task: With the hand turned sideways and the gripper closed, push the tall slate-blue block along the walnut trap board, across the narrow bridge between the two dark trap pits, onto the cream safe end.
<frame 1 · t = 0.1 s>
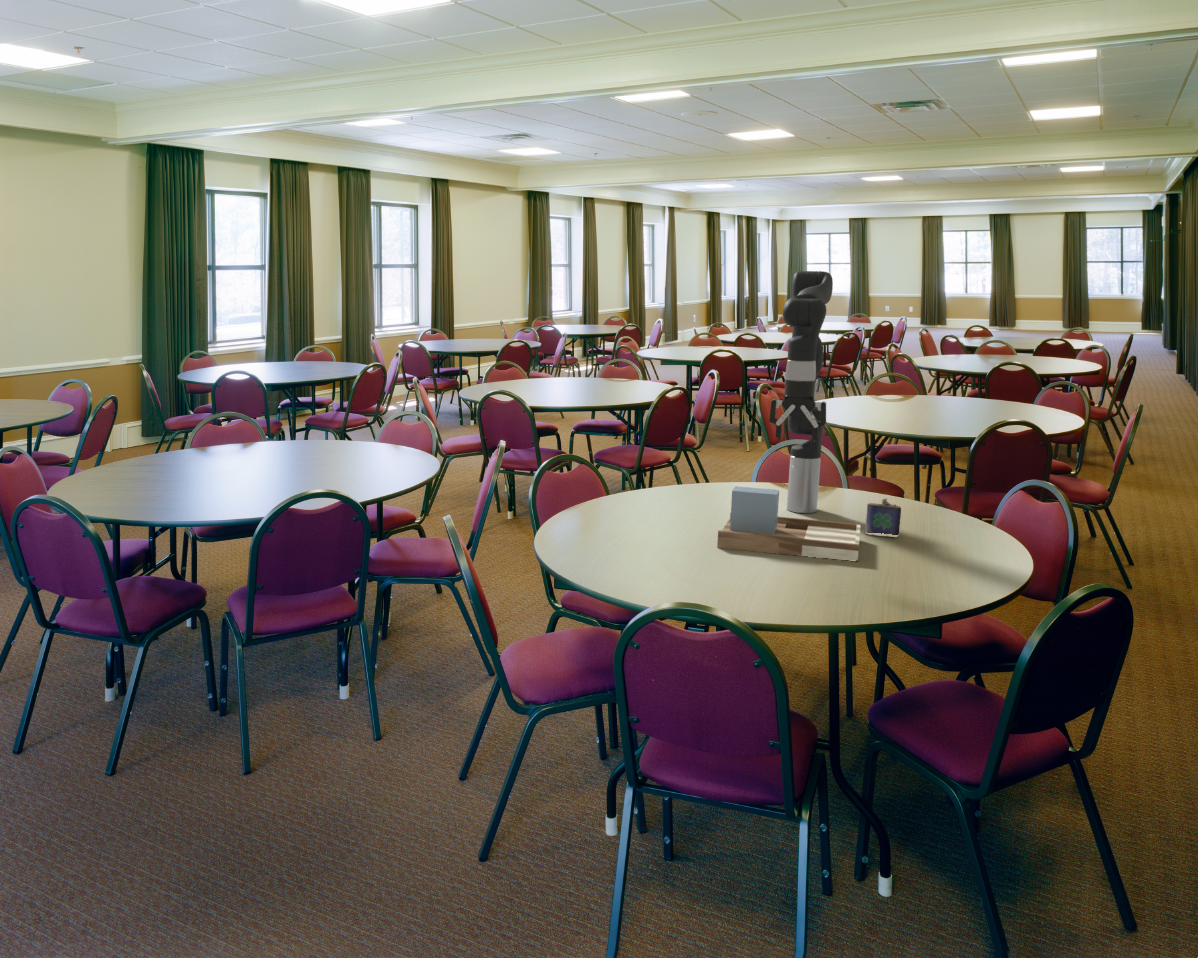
hand: (796, 440, 231), 29 cm above the table, tool pointing down, fingers open, 8 cm apart
trap board: (789, 543, 242), on the table
flask: (881, 536, 252), on the table
block: (753, 529, 244), point 3 cm above the table, touching trap board
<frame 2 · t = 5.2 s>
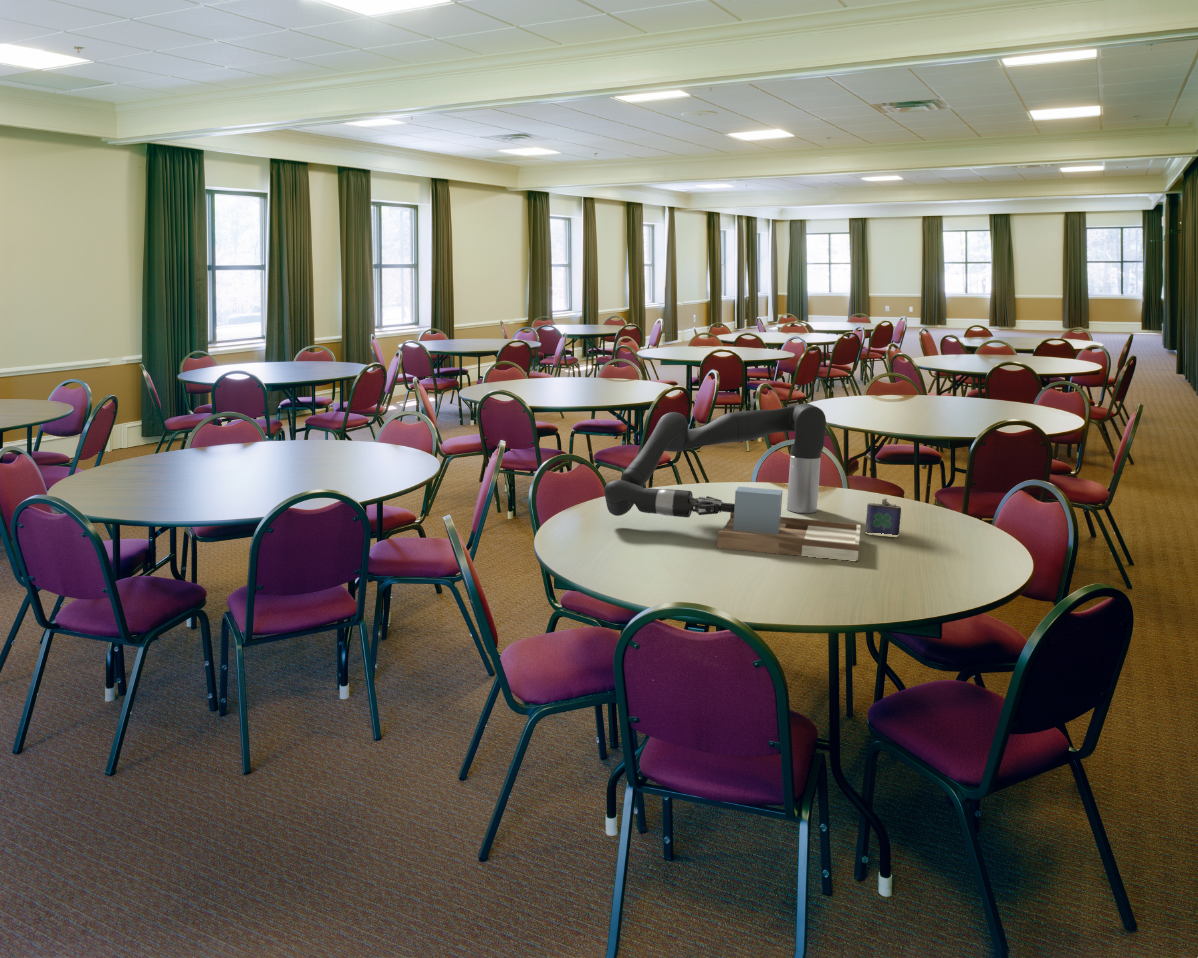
hand: (735, 508, 244), 8 cm above the table, tool horizontal, fingers closed
nothing on the table moved.
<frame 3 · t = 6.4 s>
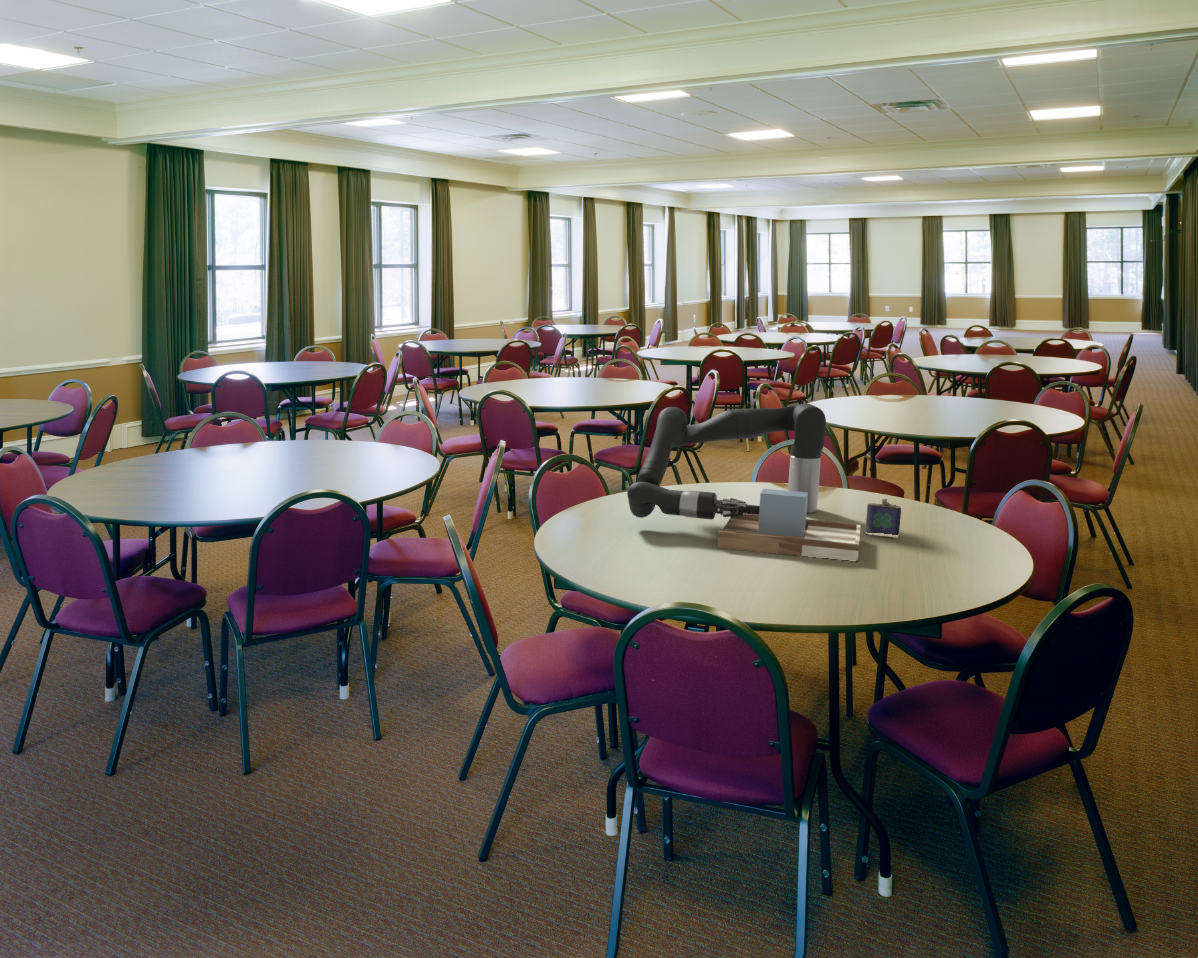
hand: (760, 510, 242), 9 cm above the table, tool horizontal, fingers closed
block: (781, 532, 242), point 3 cm above the table, touching gripper, trap board
everything else where it was.
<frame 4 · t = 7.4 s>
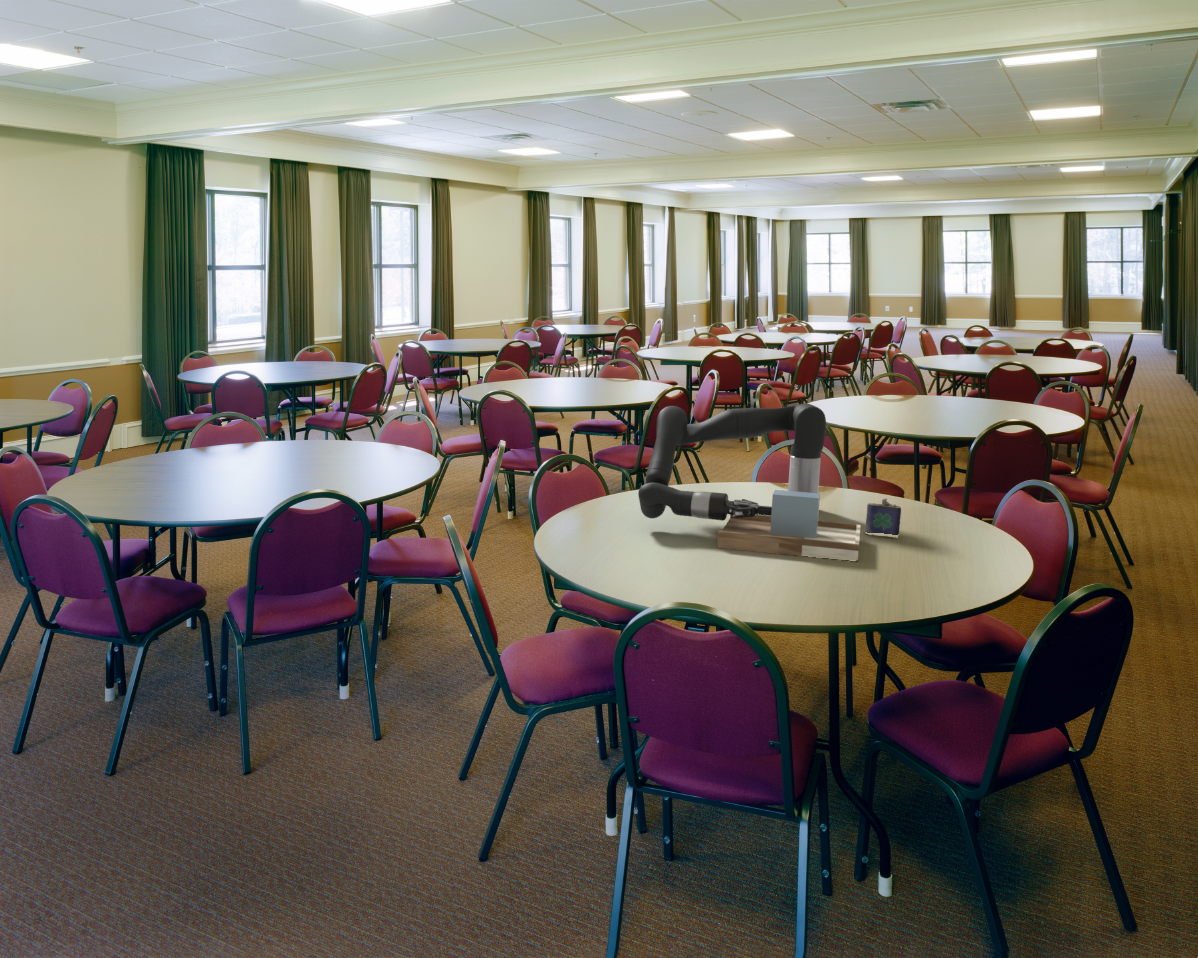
hand: (772, 511, 241), 9 cm above the table, tool horizontal, fingers closed
block: (793, 533, 241), point 3 cm above the table, touching gripper, trap board
everything else where it was.
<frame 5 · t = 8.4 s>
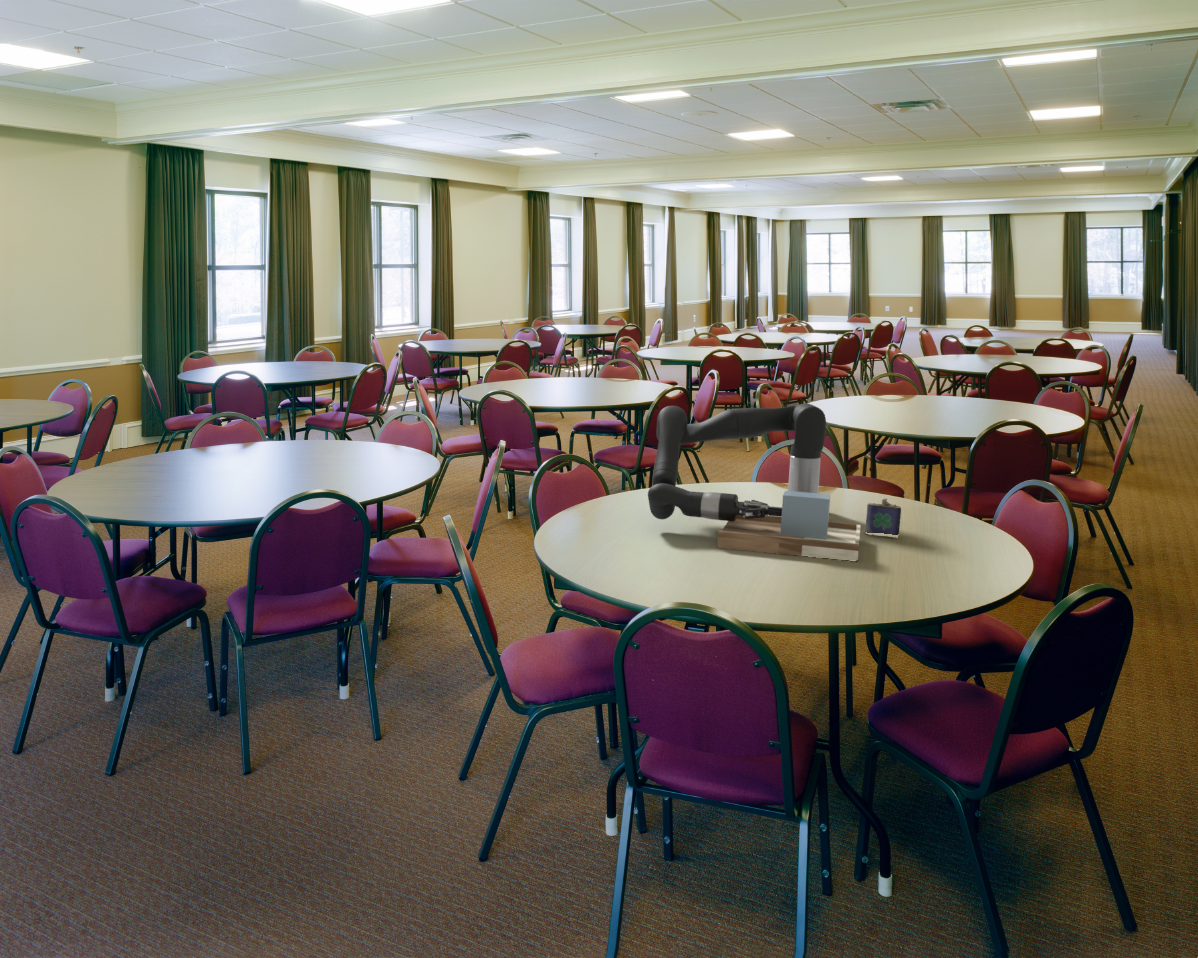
hand: (782, 512, 240), 9 cm above the table, tool horizontal, fingers closed
block: (804, 534, 240), point 3 cm above the table, touching gripper, trap board
everything else where it was.
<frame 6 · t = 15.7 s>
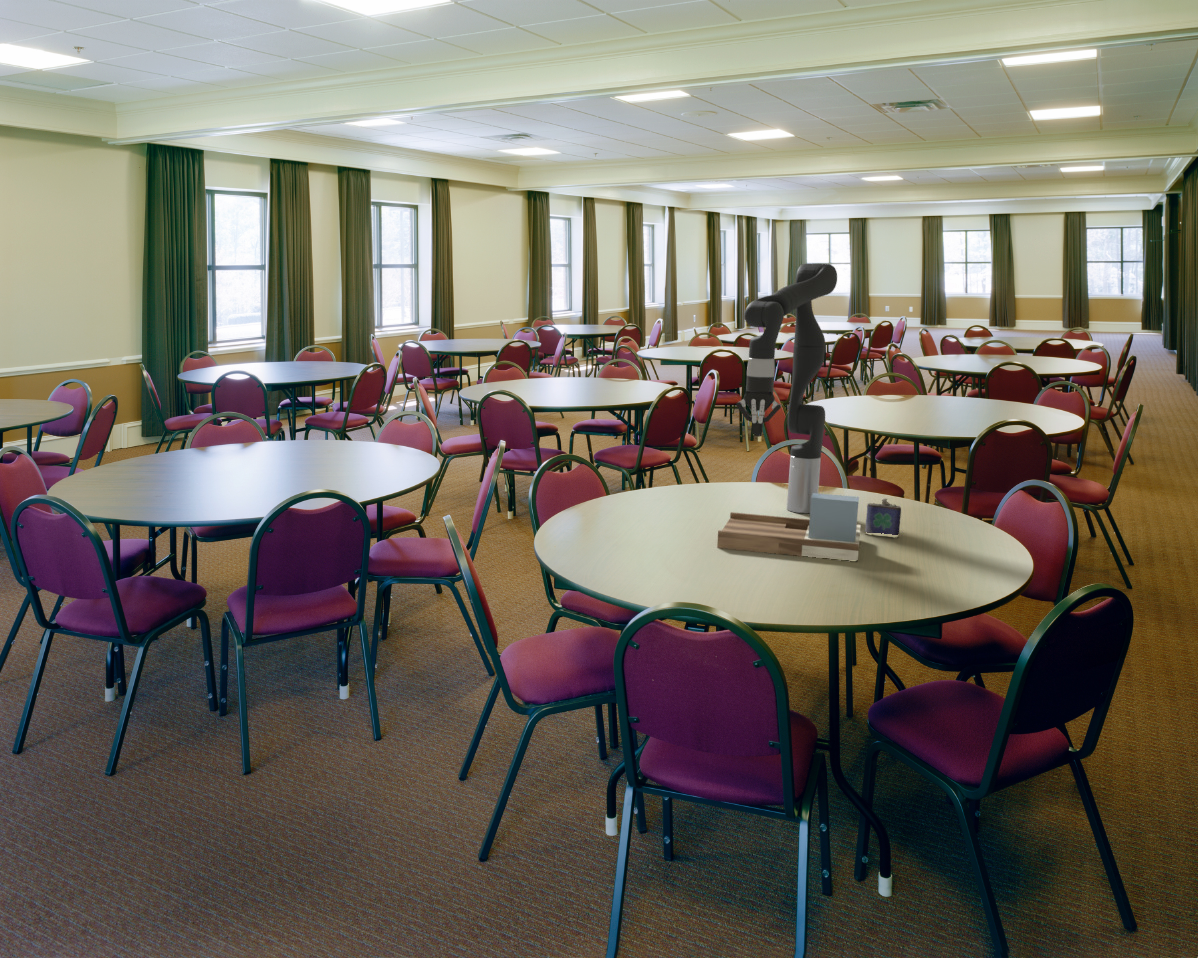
hand: (756, 436, 251), 27 cm above the table, tool pointing down, fingers closed
block: (832, 537, 238), point 3 cm above the table, touching trap board
everything else where it was.
at the end: block inside the target area (0.2 cm from its centre), point 3.0 cm above the table; block tilted 0° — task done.
